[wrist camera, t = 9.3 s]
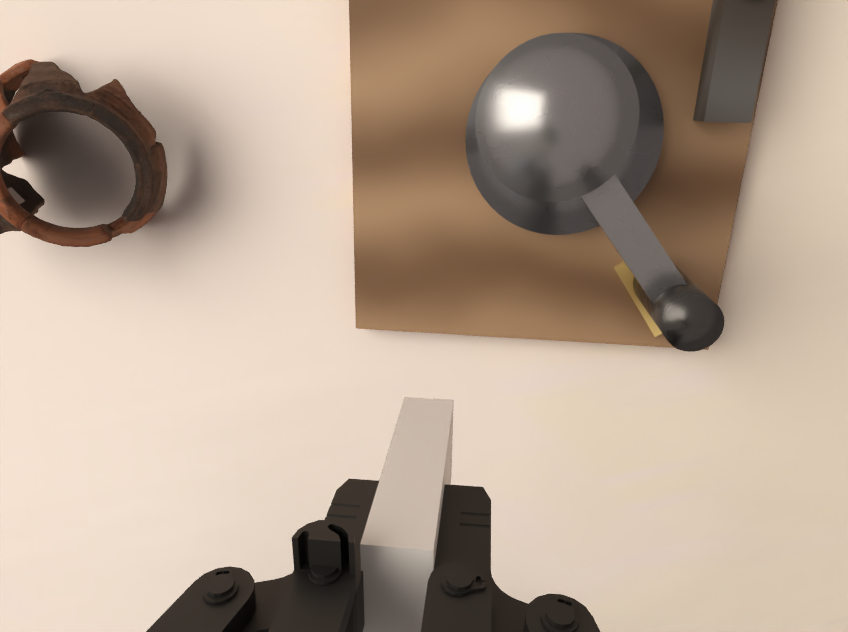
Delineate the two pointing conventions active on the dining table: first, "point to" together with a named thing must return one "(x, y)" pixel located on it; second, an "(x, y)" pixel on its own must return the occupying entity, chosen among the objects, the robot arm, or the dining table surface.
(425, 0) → the stand board
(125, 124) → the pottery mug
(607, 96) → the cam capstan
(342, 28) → the dining table surface
